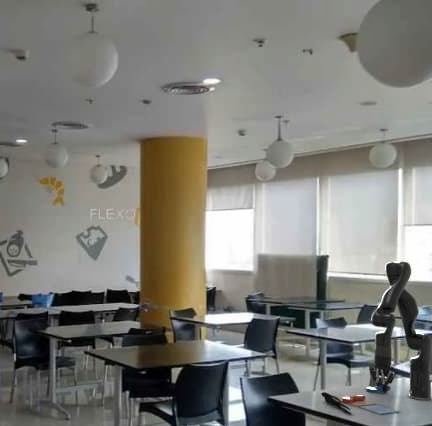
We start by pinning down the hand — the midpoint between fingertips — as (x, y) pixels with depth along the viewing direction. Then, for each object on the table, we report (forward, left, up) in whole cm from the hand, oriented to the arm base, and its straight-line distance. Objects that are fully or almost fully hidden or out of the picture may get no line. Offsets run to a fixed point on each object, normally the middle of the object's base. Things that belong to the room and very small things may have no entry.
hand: (382, 391), depth 293 cm
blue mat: (+2, 0, -9) cm, 9 cm away
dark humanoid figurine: (+17, -8, -9) cm, 21 cm away
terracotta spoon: (+2, -15, -8) cm, 17 cm away
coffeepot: (-28, -28, -9) cm, 41 cm away
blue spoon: (+2, 0, 0) cm, 2 cm away
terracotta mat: (+2, -15, -9) cm, 17 cm away
